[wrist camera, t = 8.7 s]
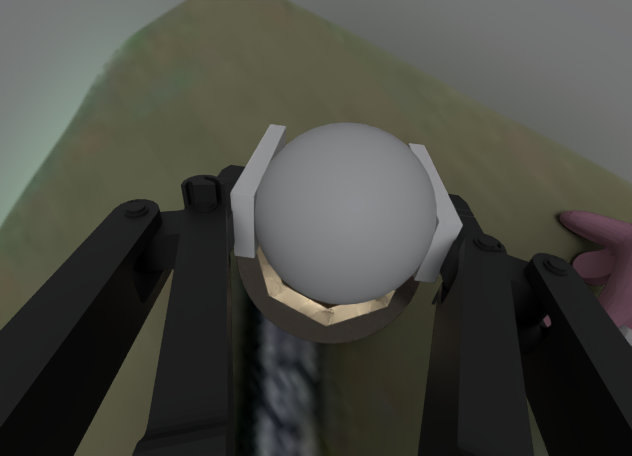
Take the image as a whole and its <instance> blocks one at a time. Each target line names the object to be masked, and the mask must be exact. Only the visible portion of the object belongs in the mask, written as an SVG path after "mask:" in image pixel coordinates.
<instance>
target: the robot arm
mask: <svg viewBox="0 0 632 456" xmlns="http://www.w3.org/2000/svg"><path fill="white" fill-rule="evenodd" d="M285 136H286V126H280V125H272V124H270V126H269V128H268V130H267V131H266V133H265V135H264V136H263V138H262V140H261V142H260V143H259V145H258V147H257V148H256V150H255V152H254V153H253V155H252V157H251V159H250V160H249V162H248V164H247V165H246V167H242V166H235V165H230V166H228V167H226V168H225V169H223V170H222V171H221V172H220V174H219V175H218V177H215V176H212V175H197V176H193V177H190V178H188V179H186V180H185V181H183V183H182V184H181V188H182V194H183V200H184V205H185V209H184V210H179V211H166V212H160V209H159V206H158V204H157V203H155V202H153V201H150V200H146V199H136V200H131V201H127V202H125V203H123V204H120V205H119V206H118V207H116V208H115V209H114V210H113V211H112V212H111V213H110V214H109V215H108V216H107V217H106V219H105V220H104V221H103V222H102V223H101V224H100V225H99V226H98V227H97V228H96V229H95V230H94V231H93V232H92V233H91V235H90V236H89V237H88V238H87V239H86V240H85V241H84V242H83V243H82V244H81V245H80V246H79V247H78V248H77V249H76V251H75V252H74V253H73V254H72V255H71V256H70V257H69V258H68V259H67V260H66V261H65V262H64V263H63V264H62V265H61V267H60V268H59V269H58V270H57V271H56V272H55V273H54V274H53V275H52V276H51V277H50V278H49V279H48V280H47V281H46V283H45V284H44V285H43V286H42V287H41V288H40V289H39V290H38V291H37V292H36V293H35V294H34V295H33V296H32V297H31V299H30V300H29V301H28V302H27V303H26V304H25V305H24V306H23V307H22V308H21V309H20V310H19V311H18V312H17V313H16V315H15V316H14V317H13V318H12V319H11V320H10V321H9V322H8V323H7V324H6V325H5V326H4V327H3V328H2V329H1V331H0V456H73V455H74V454H75V452H76V450H77V448H78V446H79V444H80V442H81V440H82V439H83V437H84V435H85V433H86V431H87V429H88V427H89V425H90V424H91V422H92V420H93V418H94V416H95V414H96V412H97V410H98V408H99V407H100V405H101V403H102V401H103V399H104V397H105V395H106V393H107V392H108V390H109V388H110V386H111V384H112V382H113V380H114V378H115V376H116V375H117V373H118V371H119V369H120V367H121V365H122V363H123V361H124V360H125V358H126V356H127V354H128V352H129V350H130V348H131V346H132V345H133V343H134V341H135V339H136V337H137V335H138V333H139V331H140V329H141V328H142V326H143V324H144V322H145V320H146V318H147V316H148V314H149V313H150V311H151V309H152V307H153V305H154V303H155V301H156V299H157V297H158V296H159V294H160V292H161V290H162V288H163V286H164V284H165V282H166V281H167V279H168V277H169V275H170V273H171V271H172V269H174V273H173V279H172V285H171V291H170V297H169V302H168V308H167V314H166V320H165V326H164V332H163V338H162V344H161V349H160V355H159V361H158V367H157V373H156V379H155V385H154V390H153V396H152V402H151V408H150V414H149V420H148V425H147V429H146V432H145V435H144V436H143V438H142V439H141V440H140V441H139V442H138V443H137V445H136V447H135V450H134V452H133V455H132V456H235V448H234V401H233V353H232V305H231V260H230V252H231V250H232V248H233V245H234V255H235V256H242V257H249V258H255V255H256V252H257V250H258V247H259V241H258V237H257V234H256V229H255V215H254V212H255V203H256V195H257V191H258V188H259V185H260V182H261V179H262V176H263V174H264V173H265V171H266V169H267V167H268V166H269V164H270V162H271V161H272V160H273V158H274V157H275V156H276V155H277V154H278V153H279V152H280V150H281V149H282V148H283V147H285ZM408 147H409V148H410V149H411V150H412V152H413V153H414V154H415V155H416V156H417V157H418V158H419V159H420V161H421V163H422V164H423V166H424V168H425V169H426V171H427V173H428V175H429V177H430V180H431V183H432V185H433V188H434V192H435V199H436V205H437V214H436V227H435V232H434V236H433V240H432V244H431V246H430V248H429V250H428V253H427V255H426V257H425V259H424V261H423V262H422V263H421V265H420V266H419V267H418V269H417V270H416V271H415V273H414V274H413V277H414V280H416V281H423V282H430V283H435V281H436V279H437V277H438V275H439V273H441V276H442V279H443V282H442V284H441V286H440V288H439V290H438V292H437V293H436V295H435V297H434V299H433V301H432V304H433V305H435V303H436V301H437V305H436V313H435V321H434V329H433V337H432V345H431V353H430V361H429V369H428V377H427V385H426V393H425V401H424V409H423V417H422V425H421V433H420V441H419V449H418V456H534V452H533V445H532V438H531V430H530V423H529V415H528V408H527V401H526V396H527V398H528V401H529V404H530V406H531V409H532V412H533V414H534V417H535V420H536V422H537V425H538V428H539V430H540V433H541V436H542V438H543V441H544V444H545V446H546V449H547V452H548V454H549V456H632V346H631V345H630V344H629V342H628V341H627V340H626V338H625V337H624V335H623V334H622V333H621V331H620V330H619V329H618V327H617V326H616V324H615V323H614V322H613V320H612V319H611V318H610V316H609V315H608V313H607V312H606V311H605V309H604V308H603V307H602V305H601V304H600V302H599V301H598V300H597V298H596V297H595V296H594V294H593V293H592V291H591V290H590V289H589V287H588V286H587V285H586V283H585V282H584V280H583V279H582V278H581V276H580V275H579V274H578V272H577V271H576V270H575V269H574V268H573V267H572V266H571V265H570V264H568V263H567V262H566V261H565V260H563V259H561V258H559V257H557V256H554V255H550V254H544V253H538V254H535V255H534V256H533V257H532V259H531V260H530V262H527V261H524V260H521V259H518V258H515V257H512V256H509V255H507V252H506V249H505V247H504V245H503V244H502V243H501V242H500V241H498V240H497V239H495V238H493V237H492V236H489V235H487V234H484V233H483V231H482V229H481V228H480V226H479V224H478V222H477V220H476V219H475V218H474V215H473V213H472V211H471V210H470V208H469V206H468V204H467V202H465V201H464V200H463V199H462V198H461V197H459V196H458V195H452V194H448V193H447V191H446V189H445V187H444V185H443V183H442V181H441V179H440V177H439V175H438V173H437V171H436V169H435V167H434V165H433V162H432V160H431V158H430V156H429V154H428V152H427V150H426V148H425V146H424V145H418V144H411V143H409V144H408ZM547 315H548V316H549V318H550V321H551V325H550V326H548V327H547V326H546V324H545V322H544V320H543V319H544V318H545V317H546V316H547Z"/></svg>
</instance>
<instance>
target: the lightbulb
mask: <svg viewBox="0 0 632 456" xmlns="http://www.w3.org/2000/svg"><path fill="white" fill-rule="evenodd" d="M436 214H437V205H436V199H435V192H434V188H433V185H432V183H431V180H430V177H429V175H428V173H427V171H426V169H425V168H424V166H423V164H422V163H421V161H420V159H419V158H418V157H417V156H416V155H415V154H414V153H413V152H412V150H411V149H410V148H409V147H408V146H407V145H405V144H404V143H403V142H401V141H400V140H399V139H397V138H396V137H395V136H393V135H391V134H389V133H387V132H385V131H383V130H381V129H379V128H376V127H372V126H369V125H365V124H359V123H348V122H343V123H333V124H327V125H323V126H320V127H316V128H313V129H311V130H309V131H307V132H305V133H303V134H301V135H299V136H297V137H296V138H295V139H294V140H292V141H291V142H290V143H288V144H287V145H286V146H285V147H283V148H282V149H281V150H280V152H279V153H278V154H277V155H276V156H275V157H274V158H273V160H272V161H271V162H270V164H269V166H268V167H267V169H266V171H265V173H264V174H263V176H262V179H261V182H260V185H259V188H258V191H257V195H256V203H255V212H254V215H255V229H256V234H257V237H258V241H259V244H260V248H261V250H262V252H263V254H264V256H265V257H266V259H267V261H268V263H269V265H270V266H271V267H272V268H273V270H274V271H275V272H276V273H277V275H278V276H279V277H280V278H281V279H282V280H283V281H285V282H286V283H287V284H288V285H289V286H291V287H292V288H293V289H294V290H296V291H298V292H300V293H302V294H304V295H305V296H307V297H309V298H312V299H315V300H318V301H322V302H325V303H330V304H341V305H350V304H359V303H365V302H369V301H372V300H375V299H378V298H381V297H383V296H385V295H386V294H388V293H390V292H392V291H393V290H395V289H397V288H398V287H400V286H401V285H402V284H403V283H404V282H405V281H407V280H408V279H409V278H410V277H411V276H412V275H413V274H414V273H415V271H416V270H417V269H418V267H419V266H420V265H421V263H422V262H423V261H424V259H425V257H426V255H427V253H428V250H429V248H430V246H431V244H432V240H433V236H434V232H435V227H436Z"/></svg>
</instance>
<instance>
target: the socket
mask: <svg viewBox="0 0 632 456" xmlns="http://www.w3.org/2000/svg"><path fill="white" fill-rule="evenodd" d="M237 263H238V268H239V273H240V276H241V279H242V282H243V285H244V287H245V289H246V291H247V293H248V295H249V297H250V298H251V300H252V301H253V303H254V304H255V305H256V307H257V308H258V309H259V310H260V311H261V313H262V314H263V315H264V316H265V317H266V318H267V319H269V320H270V321H271V322H272V323H273V324H274V325H276V326H277V327H279V328H281V329H282V330H284V331H285V332H287V333H289V334H291V335H294V336H296V337H298V338H301V339H305V340H308V341H312V342H318V343H335V344H336V343H345V342H351V341H355V340H359V339H362V338H364V337H367V336H369V335H372V334H374V333H376V332H377V331H379V330H381V329H383V328H384V327H385V326H387V325H388V324H389V323H391V322H392V321H393V320H394V319H395V318H396V317H397V316H398V315H399V314H400V313H401V312H402V311H403V310H404V309H405V307H406V306H407V305H408V303H409V302H410V301H411V299H412V297H413V295H414V293H415V292H416V290H417V287H418V285H419V282H420V281H416V280H414V277H413V275H412V276H411V277H410V278H409V279H408V280H407V281H405V282H404V283H403V284H402V285H401V286H400V287H398V288H397V289H395V290H393V291H392V292H390V293H388V294H386V295H385V296H383V297H381V298H378V299H375V300H372V301H369V302H365V303H359V304H350V305H341V304H330V303H325V302H322V301H318V300H315V299H312V298H309V297H307V296H305V295H304V294H302V293H300V292H298V291H296V290H294V289H293V288H292V287H291V286H289V285H288V284H287V283H286V282H285V281H283V280H282V279H281V278H280V277H279V276H278V275H277V273H276V272H275V271H274V270H273V268H272V267H271V266H270V265H269V263H268V261H267V259H266V257H265V256H264V254H263V252H262V250H261V248H260V244H259V247H258V250H257V252H256V255H255V258H249V257H242V256H237Z"/></svg>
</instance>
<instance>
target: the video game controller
mask: <svg viewBox="0 0 632 456" xmlns="http://www.w3.org/2000/svg"><path fill="white" fill-rule="evenodd" d="M560 222H561V223H562V224H563V225H564V226H565V227H567V228H568V229H570V230H571V231H572V232H574V233H576V234H578V235H580V236H582V237H584V238H586V239H588V240H590V241H592V242H595V243H597V244H599V245H602V246H604V248H605V249H602V250H598V251H592V252H586V253H583V254H581V255H579V256H578V257H577V258H576V259H575V260H574V262H573V268H574V269H575V270H576V271H577V272H578V274H579V275H580V276H581V278H582V279H583V280H584V282H585V283H587V284H590V285H604V284H606V285H605V287H604V289H603V291H602V292H601V294H600V296H599V298H598V299H597V300H598V301H599V302H600V304H601V305H602V307H603V308H604V309H605V311H606V312H607V313H608V315H609V316H610V318H611V319H612V320H613V322H614V323H615V324H616V326H617V327H618V329H619V330H620V331H621V333H622V334H623V335H624V337H625V338H626V340H627V341H628V342H629V344H630V345H631V346H632V224H630V223H627V222H623V221H620V220H617V219H613V218H610V217H606V216H602V215H599V214H595V213H591V212H586V211H574V210H573V211H567V212H563V213H562V214H561V215H560ZM543 320H544V322H545V324H546V326H547V327H548V326H550V325H551V321H550V318H549V316H548V315H547V316H546V317H545V318H544V319H543Z"/></svg>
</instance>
